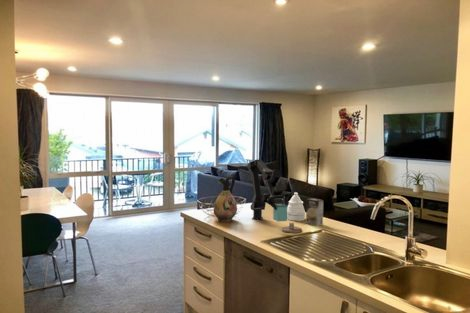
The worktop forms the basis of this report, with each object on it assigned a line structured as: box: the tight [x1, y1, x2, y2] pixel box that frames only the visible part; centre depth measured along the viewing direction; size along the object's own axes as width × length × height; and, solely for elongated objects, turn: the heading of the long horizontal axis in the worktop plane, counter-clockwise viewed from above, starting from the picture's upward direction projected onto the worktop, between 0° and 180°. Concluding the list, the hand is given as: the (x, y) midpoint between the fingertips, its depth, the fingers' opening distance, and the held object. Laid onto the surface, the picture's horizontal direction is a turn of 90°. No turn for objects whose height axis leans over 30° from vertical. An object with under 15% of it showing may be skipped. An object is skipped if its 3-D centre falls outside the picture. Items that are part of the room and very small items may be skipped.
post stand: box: [281, 222, 303, 234], centre depth 206 cm, size 12×12×4 cm
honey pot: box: [287, 192, 306, 222], centre depth 237 cm, size 13×13×18 cm
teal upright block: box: [272, 203, 288, 222], centre depth 203 cm, size 6×6×9 cm
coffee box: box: [305, 197, 324, 227], centre depth 222 cm, size 9×6×16 cm
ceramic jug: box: [213, 175, 238, 223], centre depth 229 cm, size 17×15×30 cm
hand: (281, 209), depth 201 cm, fingers closed on teal upright block, 6 cm apart
